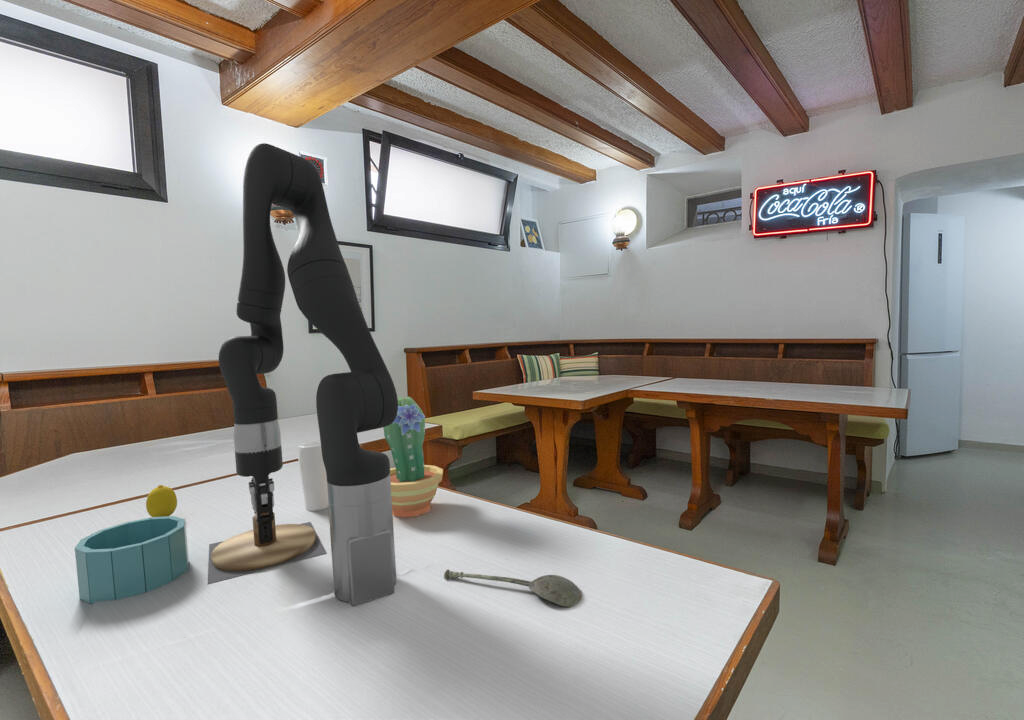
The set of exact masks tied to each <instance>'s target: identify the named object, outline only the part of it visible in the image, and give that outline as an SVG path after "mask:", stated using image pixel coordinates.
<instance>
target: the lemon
mask: <svg viewBox="0 0 1024 720" xmlns="http://www.w3.org/2000/svg"><path fill="white" fill-rule="evenodd" d="M145 502H146V503H145V506H146V507H145V508H146V511H147V513H148V515H149V517H150V518H151V517H166V516H172V515H173V513H174V512H175V511H176V509H177V507H178V498H177V495H176V492H175V491H174V489H172V488H171V487H170V486H167V485H166V486H165V485H162V484H159V485H158V486H157V487H155V488H153V489H152V490H151V491H150V492H149V493H148V495H147V498H146V501H145Z"/></svg>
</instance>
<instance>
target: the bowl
mask: <svg viewBox="0 0 1024 720" xmlns="http://www.w3.org/2000/svg"><path fill="white" fill-rule="evenodd" d="M186 524H187V523H186V518H183V517H178V516H175V515H170V516H166V517H151V516H150V517H147V518H145V517H144V518H141V519H135V520H129V521H124V522H122V523H119V524H116V525H113V526H110V527H106V528H102V529H99V530H97V531H95V532H93V533H91V534H89V535H87V536H85V537H84V538H80V540H79V541H78V542H77V544H76V545H75V546H74V554H75V564H76V575H77V584H78V596H79V599H80V600H81V601H83V602H85V603H88V604H90V605H94V604H95V602H103V601H104V602H105V601H107V602H108V601H115V600H117V601H118V600H121V599H125V598H129V597H133V596H137V595H142V594H146V593H148V592H150V591H153V590H155V589H157V588H159V587H161V586H162V587H163V586H164V585H167V584H170V583H171V582H173V581H174V580H176V579H177V578H179V577H180V576H181V575H182V574H184V573H185V572H187V571H188V569H189V563H190V562H189V560H190V558H189V549H188V536H187V527H186V526H187V525H186Z"/></svg>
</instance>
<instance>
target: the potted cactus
mask: <svg viewBox="0 0 1024 720" xmlns="http://www.w3.org/2000/svg"><path fill="white" fill-rule="evenodd" d="M397 399H398V412H397V416H396V418H395V420H394V422H393V423H392V424H390V425H388V426H386V427H382V428H383V434H384V436H383V437H384V438H385V441H386V443H387V444H388V446H389V448H390V452H391V456H392V459H393V463H394V467H393V468H392V467H390V479H391V498H392V514H393V517H399V518H411V517H417V516H420V515H424V514H426V513H427V512H429V511H430V510H431V507H432V505H431V503H432V500H433V499H434V497H435V496H436V494H437V491H438V487H439V483H441V482H442V481H443V475H444V468H441V467H439V466H436V465H431V464H430V465H429V464H425V460H424V450H423V449H424V448H423V446H424V445H423V444H424V439H425V435H426V415H425V414H424V411H422V409H421V407H419V405H418V403H417V402H416V401H415V400H414V399H413V398H412V397H411V396H407V397H405V398H404V397H402V396H399V397H397Z"/></svg>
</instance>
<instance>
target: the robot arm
mask: <svg viewBox="0 0 1024 720" xmlns="http://www.w3.org/2000/svg"><path fill="white" fill-rule="evenodd" d="M242 180H243V181H242V235H243V236H242V239H243V240H242V241H243V245H242V246H243V247H242V248H243V251H242V252H243V253H242V254H243V255H242V256H243V257H242V267H241V268H242V269H241V278H240V283H239V290H238V295H237V303H236V316H237V318H238V319H239V320H241V321H243V322H246V323H248V324H249V326H250V334H251V335H245V336H244V335H241V336H240V335H237V336H231V337H230V338H227V339H226V340H224V342H223V343H222V344H221V346H220V349H219V353H218V365H219V369H220V372H221V375H222V378H223V380H224V382H225V384H226V385H225V386H226V388H227V391H228V393H229V395H230V398H231V400H232V411H233V420H234V421H233V423H234V428H233V443H234V444H233V445H234V459H235V460H234V461H235V470H236V472H235V473H236V475H238V476H240V477H246V478H247V477H248V478H249V477H252V478H251V479H250V481H248V491H249V494H250V501H251V506H252V510H253V513H254V514H255V515H256V516H257V519H256V522H257V524H258V534H259V543H260V544H265V543H269V542H272V541H273V532H272V521H273V518H274V516H273V513H274V507H275V499H274V491H275V481H274V480H273V478H272V477H269V476H270V474H272V473H276V472H278V471H280V470H281V469H282V468H283V466H284V465H283V464H284V463H283V462H284V461H283V451H282V450H283V448H282V436H281V435H282V434H281V428H280V425H279V419H278V418H279V416H278V402H277V395H276V392H275V391H274V390H273V389H272V388H270V387H266V386H265V387H264V386H263V387H262V385H261V383H260V380H259V378H258V375H262V374H264V375H265V374H270V373H272V372H274V371H275V370H276V369H277V368H278V367H279V365H280V364H281V362H282V359H283V355H284V350H285V349H284V338H283V337H284V336H283V326H282V321H281V320H282V319H281V314H282V308H283V302H284V296H285V290H286V272H285V268H284V264H283V262H282V260H281V257H280V255H279V254H280V253H279V251H278V249H277V245H276V244H275V240H274V237H273V232H272V227H271V212H272V211H271V210H272V206H273V205H274V206H278V207H282V208H284V209H288V210H289V211H291V213H292V214H293V216H294V219H295V221H296V225H297V229H298V234H299V235H298V238H297V240H296V243H295V245H294V247H293V248H292V251H291V253H290V255H289V257H288V262H287V266H286V267H287V268H286V269H287V270H286V271H287V276H288V277H287V278H288V281H289V284H290V288H291V290H292V293H293V296H294V299H295V302H296V305H297V307H298V310H299V311H300V312H301V313H302V315H303V316H304V317H305V319H306V320H307V321H308V322H309V323H310V324H311V325H312V326H313V327H315V328H316V329H317V330H318V331H319V332H320V333H321V334H322V335H323V336H325V337H326V339H328V341H330V342H331V343H332V344H333V345H334V346H335V348H337V349H338V351H339V352H340V353H341V355H342V356H343V358H344V360H345V362H346V363H347V366H348V368H349V370H350V371H349V372H348V371H346V372H338V373H332V374H327V375H325V376H324V377H323V378H322V379H321V380H320V382H319V384H318V386H317V390H316V396H315V398H316V400H315V402H316V403H315V406H316V417H317V423H318V424H317V425H318V430H319V439H320V441H321V450H322V458H323V462H324V466H325V469H326V476H327V490H328V507H327V508H328V516H329V517H328V519H329V522H328V523H329V532H330V533H329V536H330V550H331V563H332V576H333V578H332V579H333V580H332V581H333V592H334V595H335V597H336V598H337V599H339V600H341V601H343V602H348V603H350V604H351V605H352V606H356V605H359V604H362V603H365V602H369V601H373V600H375V599H379V598H382V597H383V596H384V597H385V596H387V595H391V594H394V593H395V586H396V585H397V582H398V581H397V566H396V565H397V563H396V550H395V548H396V547H395V535H394V516H393V514H392V498H391V479H390V469H391V464H390V462H391V461H390V457H388V455H387V454H386V453H383V452H380V451H377V450H367V449H364V448H362V447H361V446H360V443H359V442H360V441H359V437H358V434H359V433H364V432H368V431H373V430H377V429H382V428H383V427H386V426H388V425H390V424H392V423H393V422H394V420H395V418H396V416H397V412H398V394H397V390H396V387H395V383H394V381H393V378H392V375H391V374H390V372H389V369H388V367H387V365H386V363H385V361H384V359H383V357H382V355H381V353H380V350H379V349H378V346H377V345H376V342H375V340H374V338H373V336H372V334H371V332H370V328H369V325H368V324H367V322H366V319H365V316H364V314H363V310H362V308H361V305H360V303H359V299H358V297H357V293H356V289H355V287H354V283H353V281H352V278H351V275H350V273H349V270H348V266H347V264H346V261H345V259H344V257H343V254H342V252H341V248H340V245H339V242H338V239H337V235H336V232H335V230H334V229H335V228H334V227H333V223H332V219H331V216H330V212H329V208H328V203H327V199H326V193H325V190H324V185H323V182H322V178H321V175H320V172H319V170H318V169H317V168H316V166H315V165H314V164H313V163H312V162H311V161H309V160H308V159H306V158H304V157H302V156H300V155H298V154H295V153H292V152H290V151H289V150H286V149H283V148H280V147H277V146H275V145H273V144H269V143H267V142H265V143H263V142H262V143H259V144H256V145H255V146H254V147H253V148H252V149H251V150H250V151H249V153H248V155H247V157H246V159H245V164H244V168H243V178H242ZM264 512H269V514H268V515H264V516H260V514H261V513H264ZM255 515H254V516H255Z"/></svg>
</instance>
